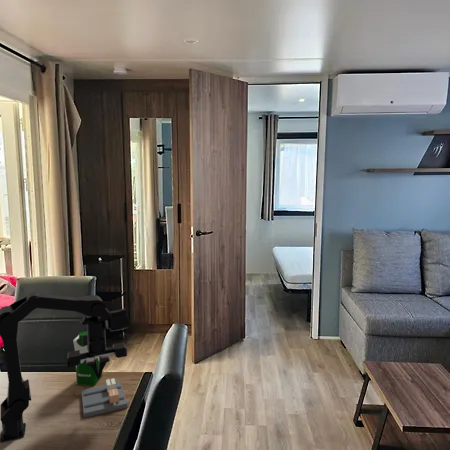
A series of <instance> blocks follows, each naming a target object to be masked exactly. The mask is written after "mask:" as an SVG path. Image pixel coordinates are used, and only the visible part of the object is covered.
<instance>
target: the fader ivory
mask: <svg viewBox="0 0 450 450" xmlns="http://www.w3.org/2000/svg"><path fill="white" fill-rule="evenodd" d="M116 383H117V382H116V380H115V378H108V379H106V380H105V385H106V388H107V392H108V390H113V389H116Z"/></svg>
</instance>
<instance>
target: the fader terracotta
mask: <svg viewBox="0 0 450 450" xmlns="http://www.w3.org/2000/svg"><path fill="white" fill-rule="evenodd" d="M108 394H109V401H110V404H111V403H115V402H119V393H118V390H117V389H113V390H108Z"/></svg>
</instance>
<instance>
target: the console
mask: <svg viewBox="0 0 450 450" xmlns="http://www.w3.org/2000/svg"><path fill="white" fill-rule="evenodd" d="M116 389H117V390H118V393H119V402H115V403H111V404H110V401H109V394H108V392H107V388H106V384H103V385H99V386H95V387H93V386H92V387H89V388H84V389H81V393H80V394H81V400H82V401H81V402H82V410H83V418H89V417H92V416H97V415H100V414H104V413H105V414H107V413H109V412H110V413H111V412H114V411H117V410H122V409H126V408H128V401H127V397H126V395H125V391H124V387H123V384H122V381H118V382H116Z"/></svg>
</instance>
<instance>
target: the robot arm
mask: <svg viewBox="0 0 450 450" xmlns="http://www.w3.org/2000/svg"><path fill="white" fill-rule="evenodd" d="M36 309H42V310H43V309H44V310H56V311H66V312H67V311H68V312H69V311H70V312H75V313H80V314H81V315H83V316H82V318H81V319H79V323H81V326H84V325H86V331H87V336H82V344H83V346H84V345H87V349H88V352H87V353H81V354H80V350H77V351H75V350H72V351H68V352H67V353H66V354H67V355H66V357H67V360H66V361H67V367H68V368H70V367H71V368H72V367H76V366H77V365H79V364H80V363H81V360H83V359H86V364H87V366H89V365H90V366H91V368H92V369H93V370H94V372H95V374H96V376H97V379H99V378H100V377H101V374H102V375H103V371H104V369H105V366H106V365H107V363H109V362H110V361H111V360H110V356H111V355H114V356H115V358H118V359H120V358H125V357H127V356H128V349H127V346H126V344H125V343H124V342H119V343H113V344H112V347H111V348H107V337H106V329H107V330H109V331H110V332H115V331H120V330H126V329H128V328H129V326H130V324H129V323H130V321H129V319H128V315H127V310H126V308H123V307H122V308H120V309H116V310H112V311H110V310H109V309H108V308H107V307H106V303H105V302H104V301H103V299H102V298H101V297H100V296H98V295H96V294H92V295H82V296H76V297H75V296H62V295H56V294H55V295H54V294H43V293H37V292H30V293H28V295H26V296H24V297H22V298H20V299H18V300H16V301H14V302H12V303H11V304H10V305H4V306H3V307H1V308H0V339H1V341H2V343H3V351H4V352H3V353H4V357H5V365H6V372H7V378H8V383H7V395H6V396H7V397H6V398H5V399H3V401H2V402H1V403H0V421H1V428H2V429H1V434H0V443H4V442H8V441H10V440H16V439H20V438H23V437H25V434H26V428H27V427H26V426H27V423H26V422H24V419H23V418H24V416H23V415H24V412H25V411H26V410H27V409H28V407H29V406H30V401H32V394H31V393H32V392H31V389H30V379H28V378H27V379H25V380H24V378H23V376H22V369H21V362H20V361H21V360H20V354H19V346H18V332H19V331H18V330H19V323H20V322H21V321H23V320H24V319H25V318H26V317H27V316H28V315H30V314H31V313H32V312H33V311H35V310H36ZM95 357H99V369H97V365H96V360H95ZM101 378H102V377H101ZM101 378H100V379H101ZM100 379H99V380H100Z"/></svg>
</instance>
